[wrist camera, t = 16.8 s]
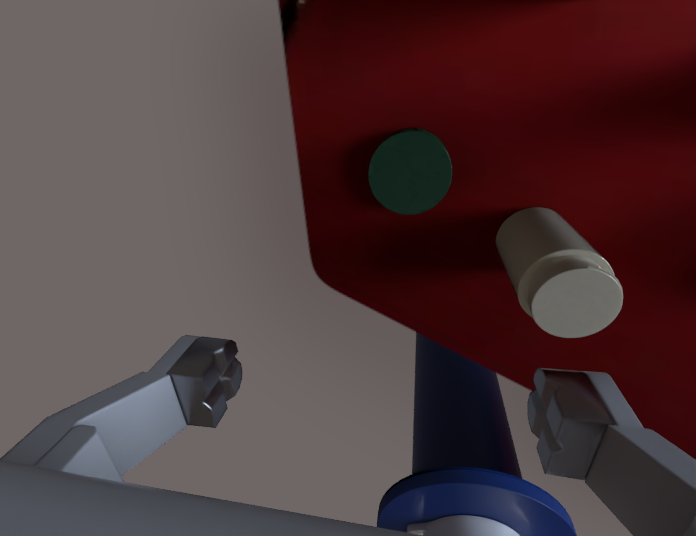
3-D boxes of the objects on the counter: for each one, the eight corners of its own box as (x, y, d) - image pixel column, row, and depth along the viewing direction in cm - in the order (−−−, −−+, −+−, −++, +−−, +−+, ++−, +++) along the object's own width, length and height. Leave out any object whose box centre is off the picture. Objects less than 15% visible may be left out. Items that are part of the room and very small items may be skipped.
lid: (378, 121, 30) (375, 124, 28) (459, 133, 30) (462, 137, 28) (366, 199, 34) (362, 207, 32) (439, 212, 33) (440, 221, 31)
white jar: (552, 274, 34) (603, 351, 24) (486, 261, 34) (511, 331, 25) (580, 214, 31) (650, 274, 21) (508, 201, 31) (545, 253, 22)
